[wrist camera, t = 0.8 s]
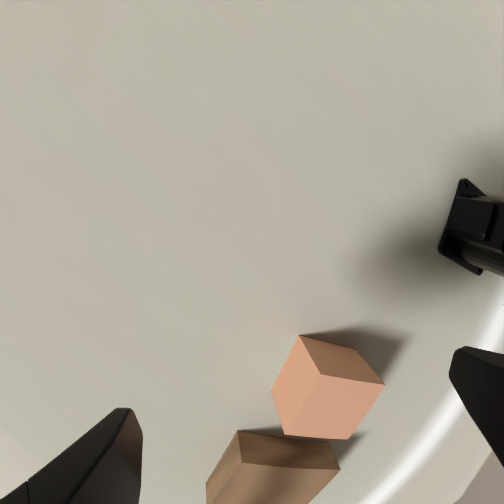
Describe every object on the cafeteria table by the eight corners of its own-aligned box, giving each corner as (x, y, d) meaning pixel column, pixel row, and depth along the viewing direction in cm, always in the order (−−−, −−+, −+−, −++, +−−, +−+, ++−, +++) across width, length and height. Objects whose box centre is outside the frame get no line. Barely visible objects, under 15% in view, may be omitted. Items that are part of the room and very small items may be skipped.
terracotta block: (355, 349, 22) (385, 384, 17) (326, 398, 22) (347, 439, 17) (298, 334, 21) (320, 374, 16) (270, 389, 21) (284, 434, 17)
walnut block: (327, 440, 24) (340, 469, 20) (285, 489, 25) (293, 516, 21) (237, 427, 22) (241, 462, 18) (205, 480, 24) (206, 511, 20)
